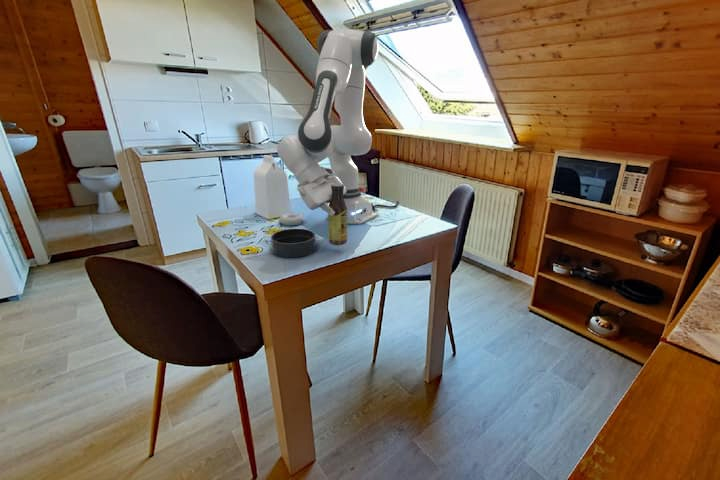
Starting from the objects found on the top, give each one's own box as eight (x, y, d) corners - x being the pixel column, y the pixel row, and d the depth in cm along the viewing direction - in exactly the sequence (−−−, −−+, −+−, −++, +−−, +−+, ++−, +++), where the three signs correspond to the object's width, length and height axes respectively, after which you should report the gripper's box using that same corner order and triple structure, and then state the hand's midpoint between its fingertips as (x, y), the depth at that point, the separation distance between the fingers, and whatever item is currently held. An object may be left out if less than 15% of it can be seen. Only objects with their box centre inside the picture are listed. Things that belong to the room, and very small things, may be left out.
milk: (255, 213, 159) (249, 155, 149) (278, 208, 166) (273, 153, 156) (268, 219, 150) (262, 158, 141) (291, 214, 158) (287, 156, 148)
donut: (304, 219, 151) (281, 219, 150) (304, 212, 150) (280, 211, 149) (302, 227, 142) (278, 227, 141) (302, 219, 140) (277, 219, 140)
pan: (298, 238, 129) (298, 225, 128) (324, 249, 120) (323, 235, 118) (263, 249, 119) (262, 235, 118) (288, 262, 110) (287, 247, 108)
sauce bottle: (344, 247, 114) (344, 187, 106) (326, 245, 115) (324, 186, 107) (349, 239, 120) (349, 183, 112) (331, 238, 121) (330, 182, 113)
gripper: (300, 178, 103) (329, 214, 103) (334, 168, 120) (359, 199, 120) (289, 191, 106) (317, 226, 106) (323, 179, 124) (347, 209, 123)
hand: (339, 211), depth 113 cm, fingers closed on sauce bottle, 6 cm apart
